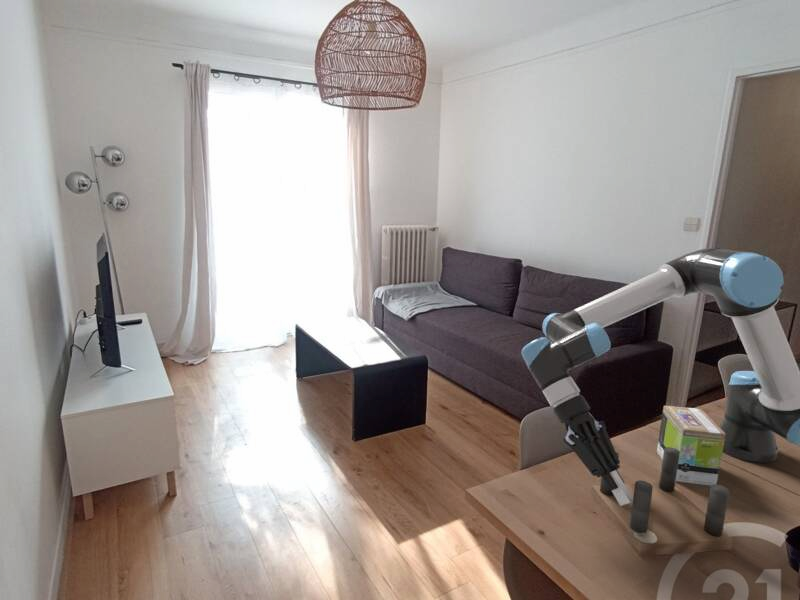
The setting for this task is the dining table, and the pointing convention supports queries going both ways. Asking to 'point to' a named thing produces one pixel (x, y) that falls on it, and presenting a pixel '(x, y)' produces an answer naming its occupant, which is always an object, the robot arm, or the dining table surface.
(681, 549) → the stool seat
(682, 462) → the tea box
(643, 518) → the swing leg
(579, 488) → the dining table surface
